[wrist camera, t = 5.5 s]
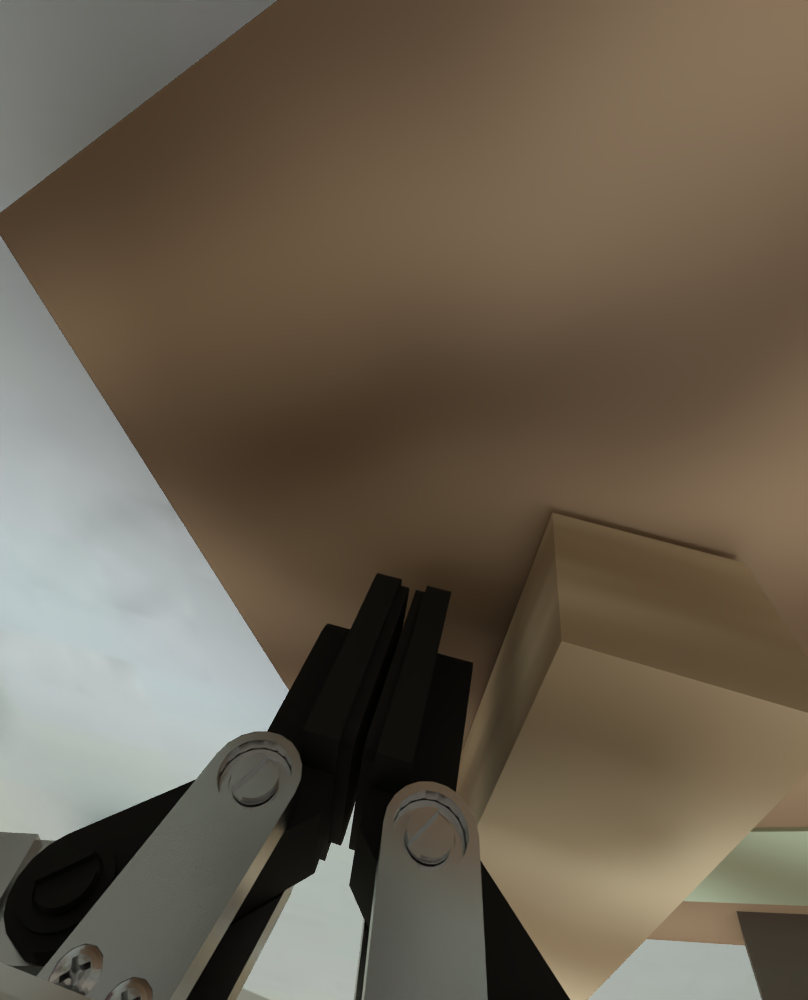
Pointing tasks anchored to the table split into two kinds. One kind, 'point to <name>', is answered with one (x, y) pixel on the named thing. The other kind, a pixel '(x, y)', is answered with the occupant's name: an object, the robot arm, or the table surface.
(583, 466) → the wooden board
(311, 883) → the table surface
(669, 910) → the folding leg
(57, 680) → the table surface
